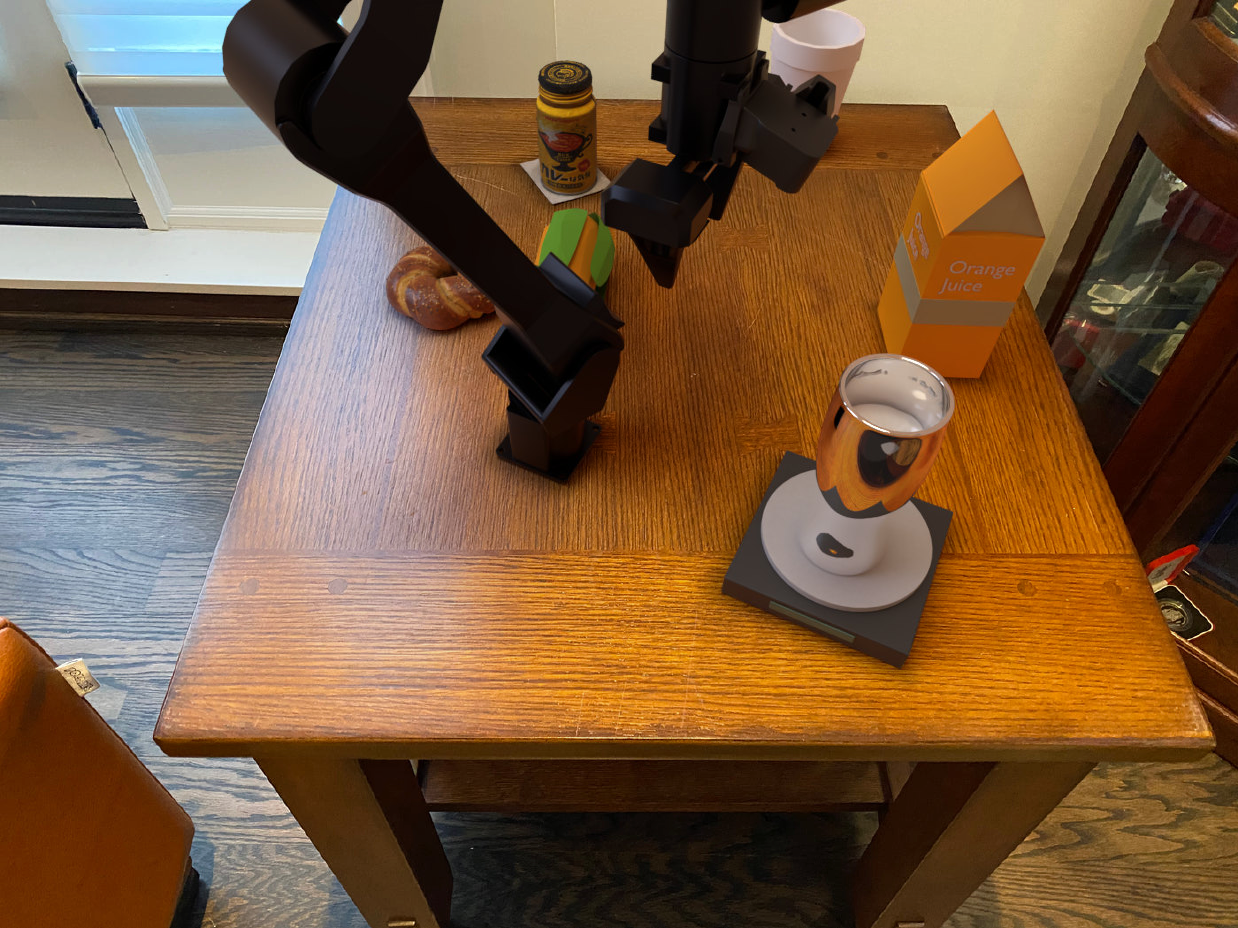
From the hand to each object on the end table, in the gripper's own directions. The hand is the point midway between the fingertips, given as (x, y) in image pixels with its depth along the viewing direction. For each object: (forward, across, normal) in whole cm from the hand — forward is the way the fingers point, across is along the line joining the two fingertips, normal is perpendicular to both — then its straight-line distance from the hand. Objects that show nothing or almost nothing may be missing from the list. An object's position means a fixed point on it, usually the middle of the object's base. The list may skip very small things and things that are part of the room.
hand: (690, 251), depth 65 cm
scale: (+13, -12, -18) cm, 25 cm away
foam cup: (+13, +40, +3) cm, 42 cm away
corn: (+13, +2, +12) cm, 18 cm away
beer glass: (+11, -12, -18) cm, 24 cm away
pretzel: (+13, 0, +23) cm, 27 cm away
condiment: (+13, +22, +23) cm, 34 cm away
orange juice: (+13, +14, -18) cm, 26 cm away
